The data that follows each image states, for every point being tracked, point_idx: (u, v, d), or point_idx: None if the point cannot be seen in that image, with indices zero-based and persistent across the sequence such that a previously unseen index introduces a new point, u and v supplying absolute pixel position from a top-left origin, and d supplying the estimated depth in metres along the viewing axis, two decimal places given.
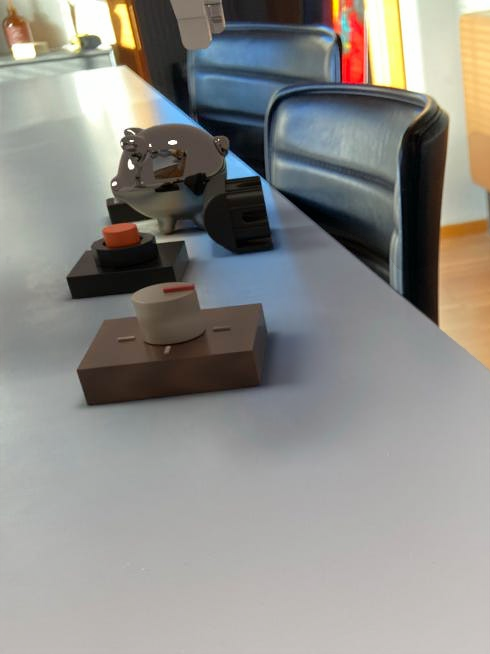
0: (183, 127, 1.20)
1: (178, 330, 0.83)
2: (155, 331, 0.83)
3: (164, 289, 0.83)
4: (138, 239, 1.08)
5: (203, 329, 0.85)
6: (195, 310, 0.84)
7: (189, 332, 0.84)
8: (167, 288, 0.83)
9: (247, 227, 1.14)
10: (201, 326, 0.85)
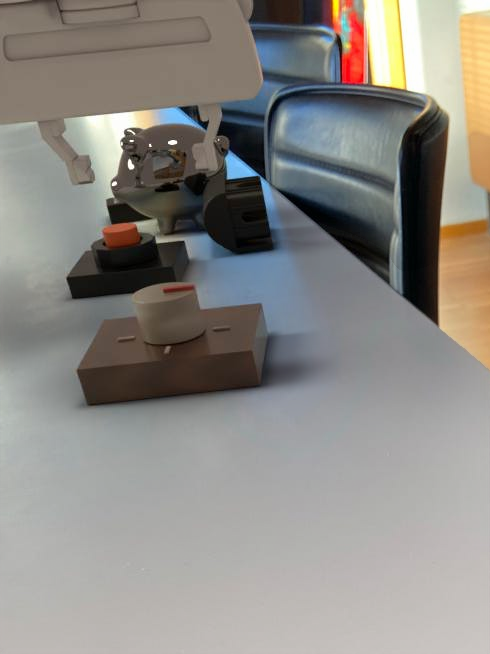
0: (183, 127, 1.20)
1: (178, 330, 0.83)
2: (155, 331, 0.83)
3: (164, 289, 0.83)
4: (138, 239, 1.08)
5: (203, 329, 0.85)
6: (195, 310, 0.84)
7: (189, 332, 0.84)
8: (167, 288, 0.83)
9: (247, 227, 1.14)
10: (201, 326, 0.85)
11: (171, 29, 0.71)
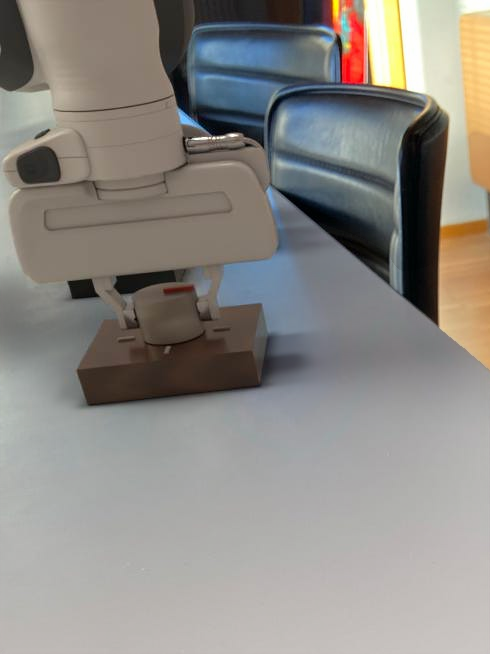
0: (183, 127, 1.20)
1: (178, 330, 0.83)
2: (155, 331, 0.83)
3: (164, 289, 0.83)
4: None
5: (203, 329, 0.85)
6: (195, 310, 0.84)
7: (188, 332, 0.84)
8: (167, 288, 0.83)
9: None
10: (201, 326, 0.85)
11: (196, 202, 0.79)
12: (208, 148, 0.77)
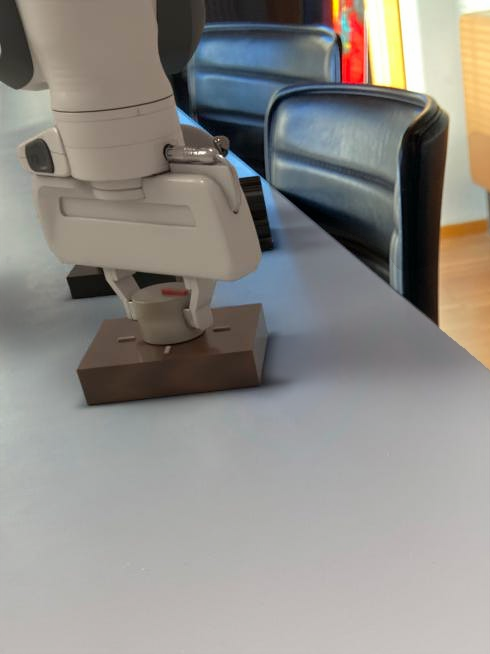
0: (183, 127, 1.20)
1: (158, 333, 0.83)
2: (142, 328, 0.84)
3: (162, 289, 0.83)
4: None
5: (193, 336, 0.84)
6: (181, 316, 0.83)
7: (170, 337, 0.83)
8: (165, 289, 0.83)
9: None
10: (190, 332, 0.84)
11: (169, 212, 0.77)
12: (184, 159, 0.74)
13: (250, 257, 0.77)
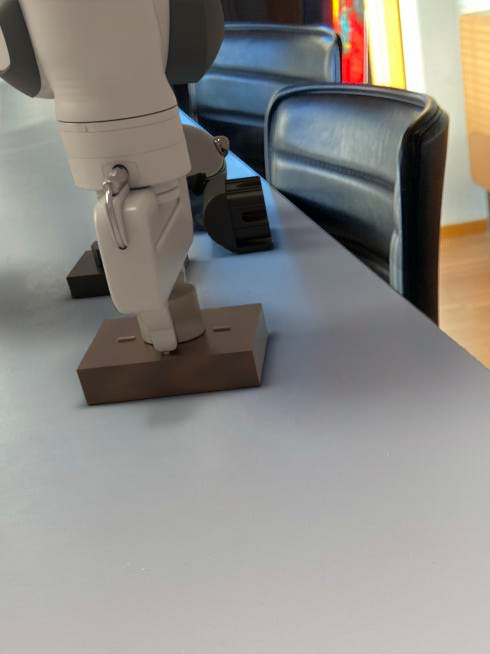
0: (183, 127, 1.20)
1: None
2: None
3: None
4: None
5: None
6: None
7: (144, 335, 0.84)
8: None
9: (247, 227, 1.14)
10: None
11: None
12: None
13: (137, 296, 0.74)
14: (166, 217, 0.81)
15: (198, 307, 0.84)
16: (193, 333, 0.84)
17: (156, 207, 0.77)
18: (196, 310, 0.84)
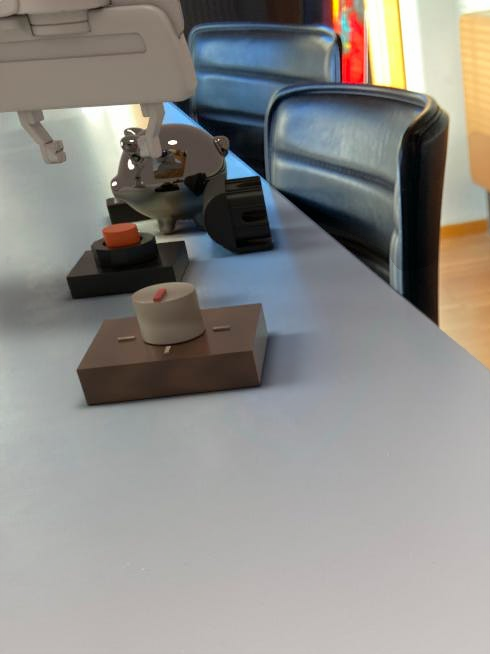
0: (183, 127, 1.20)
1: None
2: None
3: (159, 289, 0.83)
4: (138, 239, 1.08)
5: (162, 342, 0.84)
6: (150, 320, 0.83)
7: (144, 335, 0.84)
8: (160, 290, 0.83)
9: (247, 227, 1.14)
10: (159, 338, 0.83)
11: (116, 42, 0.88)
12: None
13: (192, 79, 0.91)
14: None
15: (198, 307, 0.84)
16: (193, 333, 0.84)
17: None
18: (196, 310, 0.84)
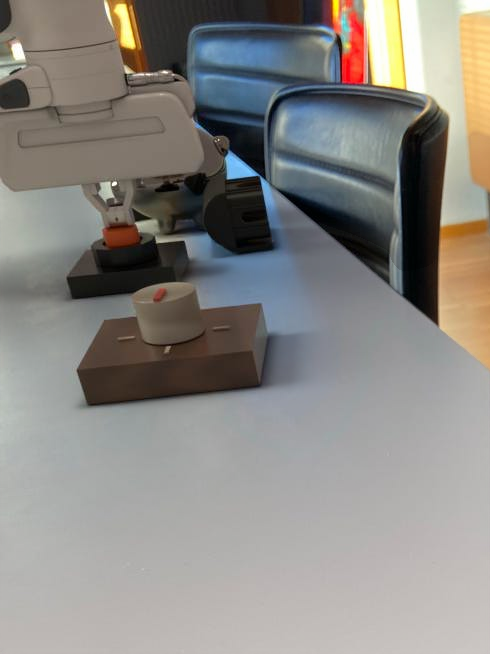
0: None
1: None
2: None
3: (159, 289, 0.83)
4: (138, 239, 1.08)
5: (162, 342, 0.84)
6: (150, 320, 0.83)
7: (144, 335, 0.84)
8: (160, 290, 0.83)
9: (247, 227, 1.14)
10: (159, 338, 0.83)
11: (136, 125, 1.01)
12: (145, 82, 1.00)
13: (202, 152, 1.05)
14: None
15: (198, 307, 0.84)
16: (193, 333, 0.84)
17: None
18: (196, 310, 0.84)
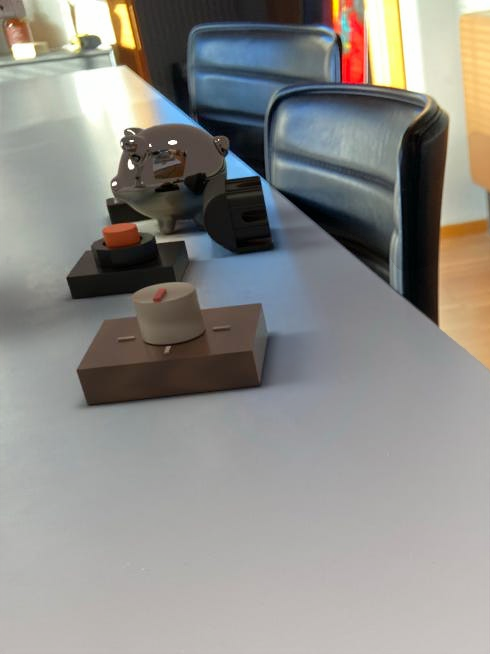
0: (183, 127, 1.20)
1: None
2: None
3: (159, 289, 0.83)
4: (138, 239, 1.08)
5: (162, 342, 0.84)
6: (150, 320, 0.83)
7: (144, 335, 0.84)
8: (160, 290, 0.83)
9: (247, 227, 1.14)
10: (159, 338, 0.83)
11: None
12: None
13: None
14: None
15: (198, 307, 0.84)
16: (193, 333, 0.84)
17: None
18: (196, 310, 0.84)
